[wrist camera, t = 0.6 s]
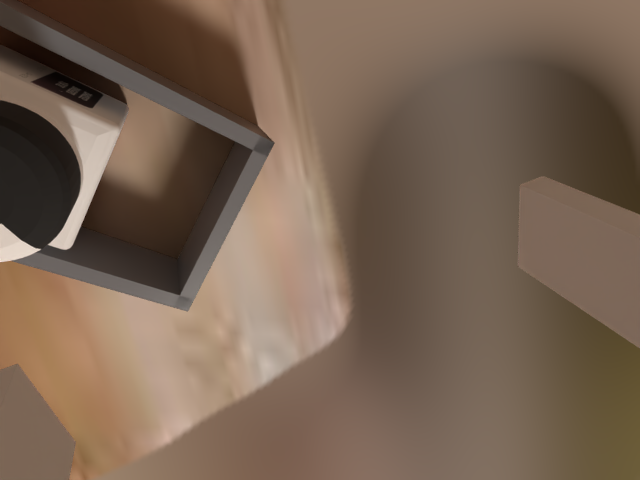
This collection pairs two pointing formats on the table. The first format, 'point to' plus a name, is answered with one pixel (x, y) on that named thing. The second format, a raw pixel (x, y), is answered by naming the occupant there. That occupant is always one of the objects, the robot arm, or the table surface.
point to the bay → (218, 211)
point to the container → (49, 153)
